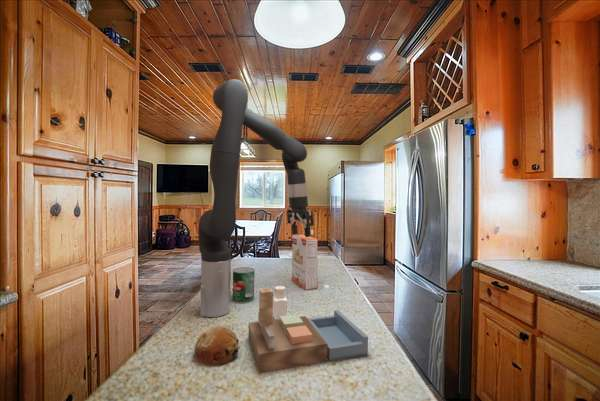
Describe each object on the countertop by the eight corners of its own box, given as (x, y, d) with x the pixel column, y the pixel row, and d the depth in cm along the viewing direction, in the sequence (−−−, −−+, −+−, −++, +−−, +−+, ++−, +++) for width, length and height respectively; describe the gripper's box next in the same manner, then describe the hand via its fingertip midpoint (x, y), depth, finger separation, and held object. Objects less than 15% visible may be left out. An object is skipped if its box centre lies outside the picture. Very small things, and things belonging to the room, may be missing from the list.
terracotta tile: (291, 344, 66) (292, 337, 66) (286, 334, 71) (286, 327, 71) (312, 341, 68) (312, 334, 68) (305, 331, 73) (305, 325, 73)
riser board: (258, 372, 62) (258, 354, 62) (248, 337, 77) (248, 322, 77) (327, 360, 67) (327, 343, 67) (304, 330, 82) (305, 316, 82)
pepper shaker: (274, 321, 88) (274, 290, 88) (272, 315, 92) (272, 286, 91) (287, 319, 89) (287, 289, 89) (284, 314, 93) (284, 285, 92)
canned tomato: (228, 302, 103) (228, 271, 102) (238, 294, 110) (238, 266, 110) (248, 304, 101) (249, 273, 101) (257, 297, 108) (257, 267, 108)
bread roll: (227, 355, 75) (219, 324, 77) (250, 351, 69) (242, 317, 71) (191, 373, 67) (184, 337, 69) (215, 370, 61) (206, 331, 64)
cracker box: (290, 281, 129) (291, 234, 129) (302, 279, 132) (303, 234, 132) (304, 290, 117) (305, 239, 116) (317, 288, 119) (318, 238, 119)
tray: (329, 361, 67) (329, 342, 67) (305, 329, 83) (306, 313, 83) (367, 355, 70) (368, 336, 70) (337, 324, 86) (337, 309, 86)
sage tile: (284, 330, 73) (284, 324, 73) (279, 322, 78) (279, 316, 78) (303, 328, 75) (303, 322, 75) (297, 320, 79) (297, 314, 79)
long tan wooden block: (265, 350, 63) (266, 300, 63) (255, 323, 77) (255, 282, 77) (277, 348, 64) (278, 299, 64) (265, 322, 78) (266, 281, 77)
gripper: (280, 196, 118) (283, 235, 119) (301, 196, 106) (304, 239, 108) (294, 194, 122) (298, 231, 124) (316, 194, 111) (319, 235, 112)
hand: (301, 235), depth 116 cm, fingers open, 8 cm apart
